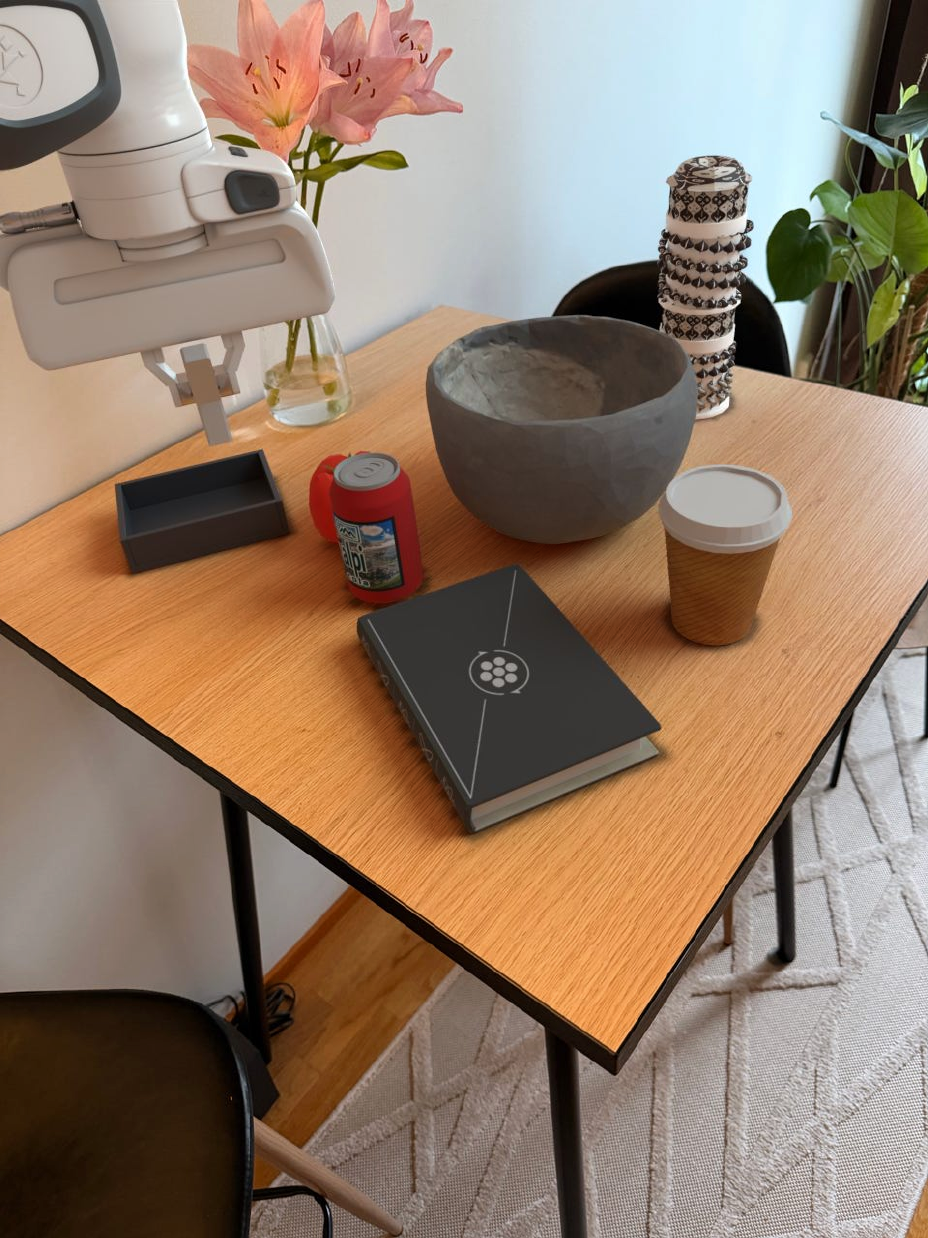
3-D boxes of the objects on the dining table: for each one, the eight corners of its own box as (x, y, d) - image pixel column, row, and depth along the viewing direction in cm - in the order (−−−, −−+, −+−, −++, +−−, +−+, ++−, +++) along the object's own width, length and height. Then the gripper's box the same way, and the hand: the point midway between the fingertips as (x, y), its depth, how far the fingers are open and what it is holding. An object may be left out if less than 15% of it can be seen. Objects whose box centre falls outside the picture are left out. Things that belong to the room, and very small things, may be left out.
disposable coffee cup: (798, 627, 72) (823, 499, 64) (708, 677, 69) (724, 547, 61) (713, 571, 79) (727, 448, 71) (627, 613, 75) (632, 489, 68)
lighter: (203, 423, 69) (172, 319, 64) (226, 418, 69) (197, 314, 64) (213, 464, 63) (180, 354, 58) (238, 458, 64) (207, 348, 59)
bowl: (495, 430, 101) (486, 297, 92) (715, 463, 92) (730, 318, 83) (390, 553, 85) (366, 405, 75) (645, 607, 76) (654, 448, 66)
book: (359, 645, 75) (353, 618, 73) (519, 589, 79) (518, 562, 77) (467, 838, 59) (463, 808, 57) (660, 755, 63) (663, 726, 61)
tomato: (317, 514, 91) (302, 447, 86) (405, 503, 91) (395, 436, 86) (314, 568, 84) (298, 499, 79) (410, 556, 84) (400, 486, 79)
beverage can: (333, 595, 80) (307, 478, 73) (381, 556, 84) (361, 441, 77) (393, 619, 77) (372, 499, 70) (439, 576, 81) (424, 459, 74)
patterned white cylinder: (740, 419, 99) (770, 170, 83) (653, 423, 100) (667, 178, 84) (726, 381, 106) (752, 146, 90) (646, 386, 107) (657, 153, 91)
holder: (132, 574, 86) (119, 541, 83) (126, 515, 94) (114, 483, 92) (290, 533, 89) (282, 500, 86) (270, 479, 97) (262, 448, 95)
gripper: (-36, 233, 51) (55, 451, 60) (318, 171, 55) (355, 383, 64) (-27, 206, 56) (57, 411, 65) (299, 150, 60) (336, 351, 68)
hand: (208, 397), depth 64 cm, fingers closed on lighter, 2 cm apart
